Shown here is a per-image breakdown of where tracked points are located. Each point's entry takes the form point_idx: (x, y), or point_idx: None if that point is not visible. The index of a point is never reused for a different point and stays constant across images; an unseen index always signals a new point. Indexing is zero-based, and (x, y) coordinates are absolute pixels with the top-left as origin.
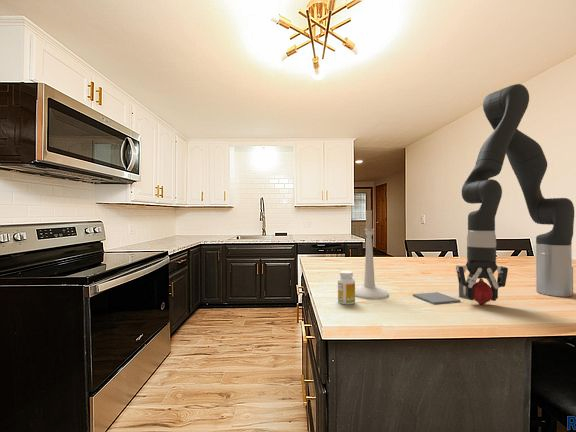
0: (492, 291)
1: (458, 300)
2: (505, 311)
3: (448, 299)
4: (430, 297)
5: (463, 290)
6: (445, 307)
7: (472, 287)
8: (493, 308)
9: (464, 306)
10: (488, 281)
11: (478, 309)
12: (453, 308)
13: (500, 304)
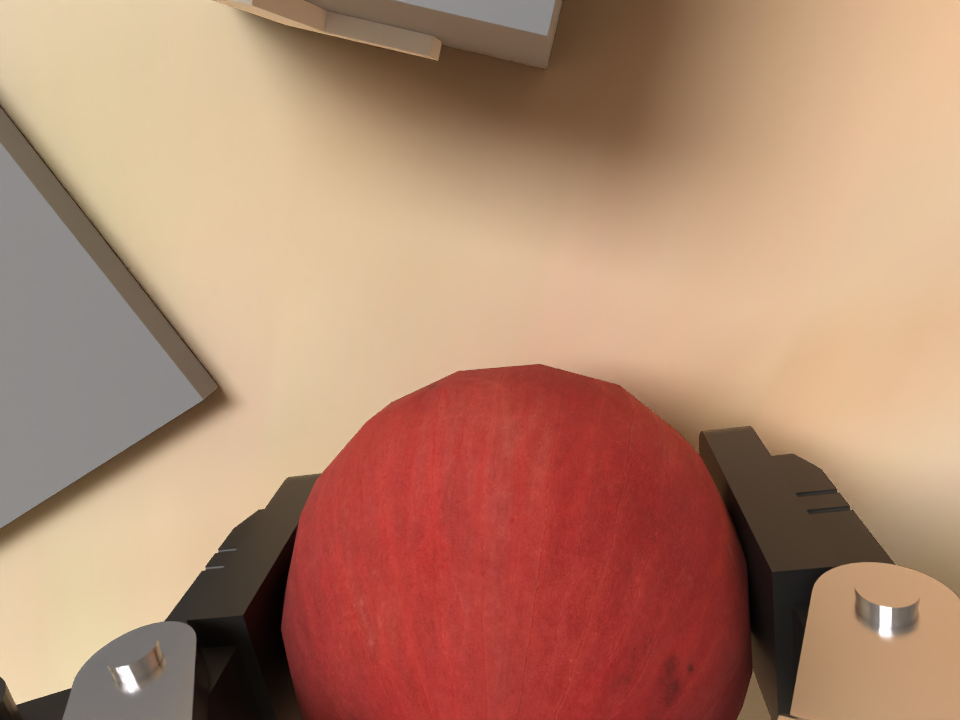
0: (755, 631)
1: (176, 415)
2: (747, 698)
3: (22, 413)
4: None
5: (241, 9)
6: (26, 691)
7: (293, 684)
8: None
9: None
10: (793, 712)
11: None
12: None
13: (865, 355)
